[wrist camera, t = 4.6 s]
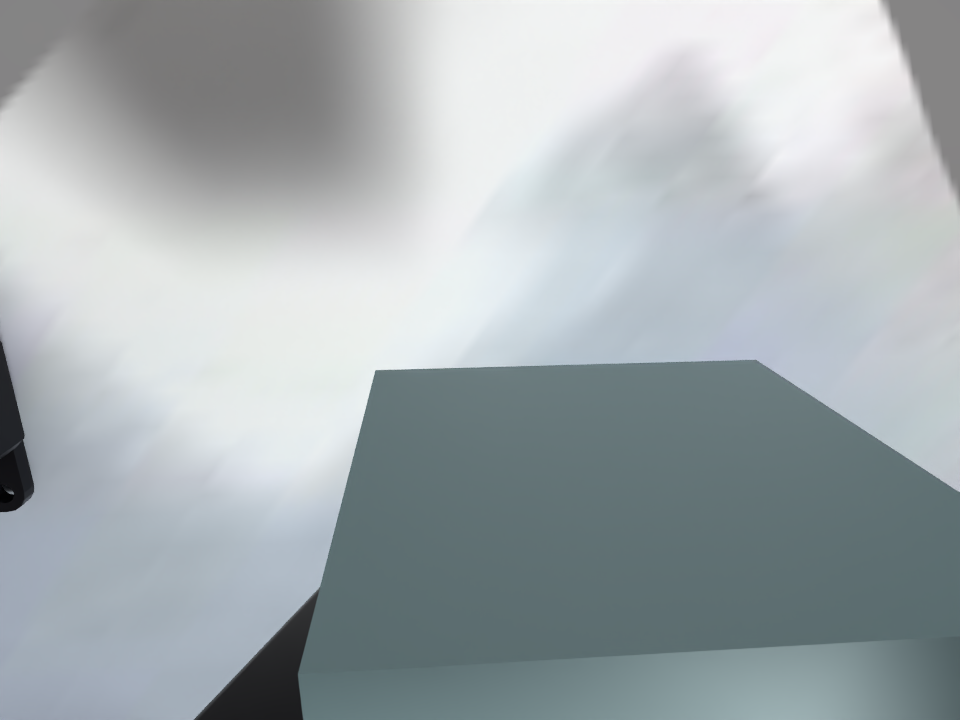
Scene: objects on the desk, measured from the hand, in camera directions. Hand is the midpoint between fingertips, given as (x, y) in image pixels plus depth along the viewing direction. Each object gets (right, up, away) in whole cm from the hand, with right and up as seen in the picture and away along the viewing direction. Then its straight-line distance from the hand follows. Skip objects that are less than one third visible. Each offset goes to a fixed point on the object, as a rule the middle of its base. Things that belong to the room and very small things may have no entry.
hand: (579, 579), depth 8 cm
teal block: (0, 0, +1) cm, 1 cm away
